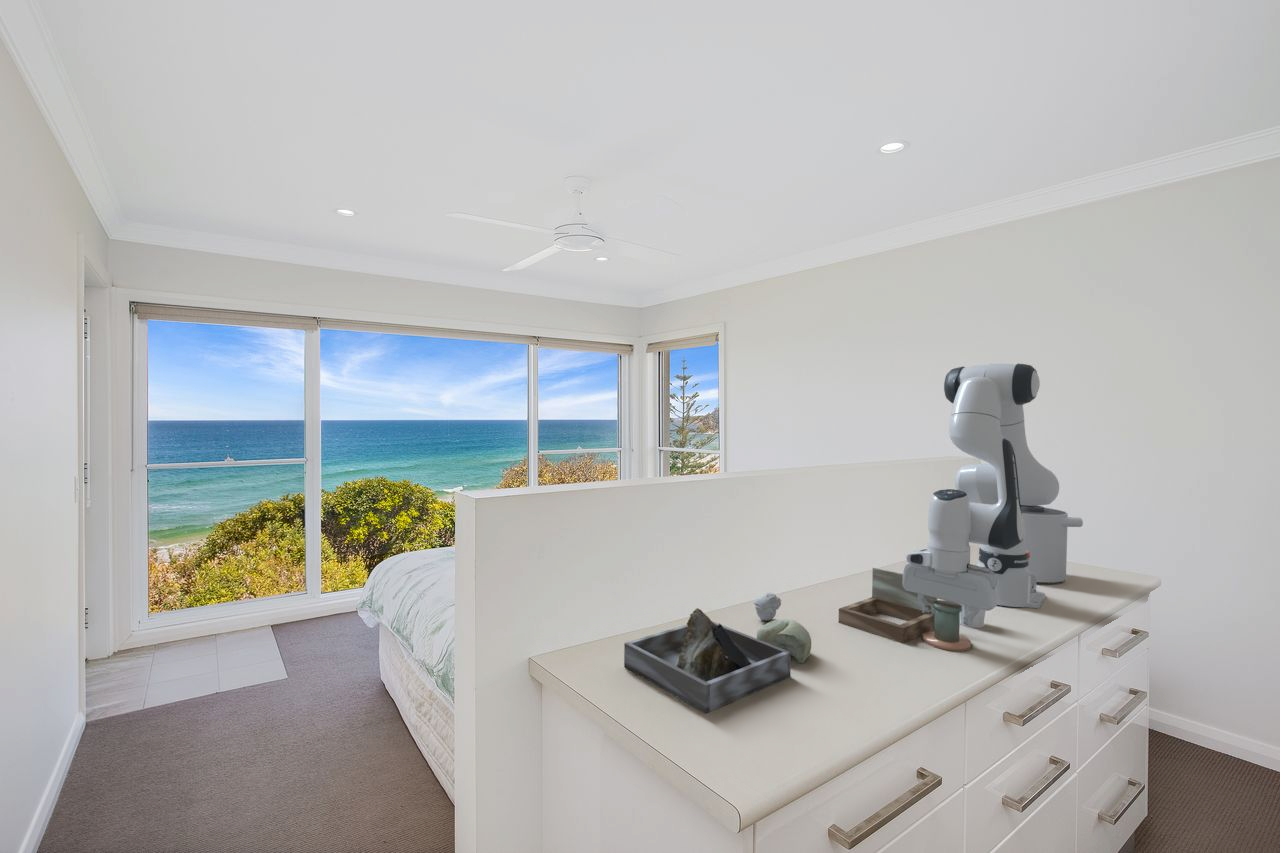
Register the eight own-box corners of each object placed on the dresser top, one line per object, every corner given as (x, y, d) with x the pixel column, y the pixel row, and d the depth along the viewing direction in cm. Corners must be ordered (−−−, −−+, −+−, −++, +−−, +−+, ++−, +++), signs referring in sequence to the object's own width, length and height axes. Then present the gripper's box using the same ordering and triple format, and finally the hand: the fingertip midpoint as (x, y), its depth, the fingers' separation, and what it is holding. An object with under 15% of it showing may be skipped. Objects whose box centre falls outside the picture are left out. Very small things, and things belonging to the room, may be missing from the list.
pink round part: (934, 631, 145) (934, 627, 145) (978, 644, 137) (978, 639, 137) (914, 640, 139) (914, 636, 139) (959, 654, 131) (959, 650, 131)
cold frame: (874, 608, 161) (875, 567, 161) (937, 627, 148) (938, 581, 148) (838, 622, 151) (839, 577, 150) (903, 643, 137) (904, 594, 137)
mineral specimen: (772, 645, 125) (748, 620, 113) (750, 720, 119) (724, 701, 106) (714, 627, 133) (687, 602, 120) (691, 696, 126) (660, 677, 114)
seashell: (749, 619, 131) (775, 603, 138) (748, 651, 133) (774, 635, 140) (799, 641, 122) (824, 623, 129) (798, 676, 124) (823, 656, 130)
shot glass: (990, 629, 147) (991, 601, 146) (960, 627, 148) (961, 599, 148) (980, 620, 153) (981, 593, 153) (951, 618, 155) (952, 591, 155)
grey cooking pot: (1043, 568, 206) (1045, 502, 205) (1082, 586, 185) (1085, 512, 184) (978, 566, 208) (980, 500, 207) (1010, 583, 187) (1012, 510, 186)
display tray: (706, 640, 138) (706, 618, 138) (790, 676, 119) (790, 652, 119) (624, 666, 123) (624, 643, 123) (705, 713, 104) (706, 685, 104)
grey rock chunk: (781, 625, 148) (781, 598, 148) (752, 623, 150) (753, 595, 149) (781, 617, 154) (781, 591, 154) (753, 615, 155) (754, 588, 155)
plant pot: (939, 631, 142) (940, 598, 142) (965, 639, 137) (966, 604, 137) (927, 637, 138) (928, 603, 138) (954, 645, 134) (954, 609, 133)
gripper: (1002, 567, 131) (1001, 628, 132) (912, 549, 147) (911, 604, 148) (991, 572, 127) (989, 635, 128) (899, 553, 143) (898, 609, 144)
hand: (947, 618), depth 138 cm, fingers open, 8 cm apart
